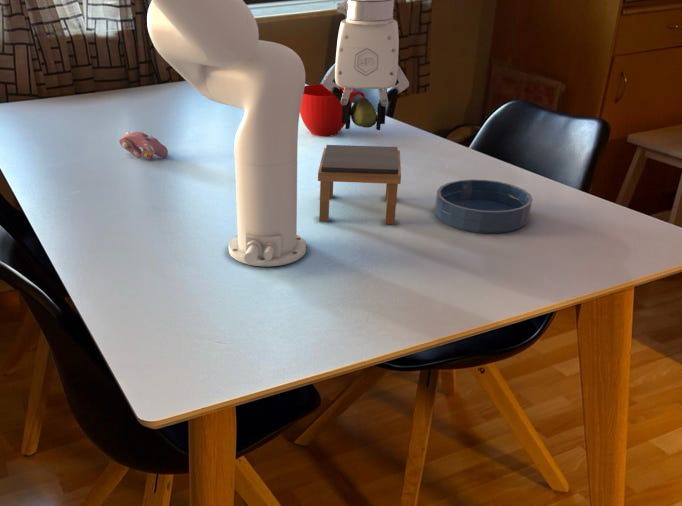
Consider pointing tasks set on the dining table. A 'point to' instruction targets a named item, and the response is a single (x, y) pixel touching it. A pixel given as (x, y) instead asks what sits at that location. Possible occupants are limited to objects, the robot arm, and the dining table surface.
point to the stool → (359, 172)
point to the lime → (363, 113)
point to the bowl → (483, 206)
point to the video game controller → (143, 145)
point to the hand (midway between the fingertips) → (363, 126)
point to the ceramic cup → (323, 110)
